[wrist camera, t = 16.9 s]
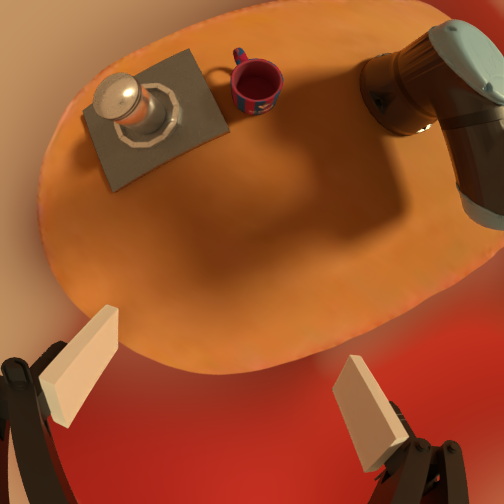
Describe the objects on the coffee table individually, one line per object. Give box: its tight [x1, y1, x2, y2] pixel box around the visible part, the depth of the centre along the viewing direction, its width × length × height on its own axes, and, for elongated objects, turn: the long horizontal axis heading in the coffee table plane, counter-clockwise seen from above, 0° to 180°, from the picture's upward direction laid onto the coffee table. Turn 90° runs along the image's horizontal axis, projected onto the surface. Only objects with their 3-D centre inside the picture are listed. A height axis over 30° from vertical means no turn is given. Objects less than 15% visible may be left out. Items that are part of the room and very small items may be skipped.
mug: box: [231, 48, 283, 115], centre depth 32 cm, size 7×10×7 cm
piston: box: [93, 73, 165, 134], centre depth 29 cm, size 6×6×12 cm
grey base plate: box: [83, 49, 230, 192], centre depth 35 cm, size 20×16×3 cm
